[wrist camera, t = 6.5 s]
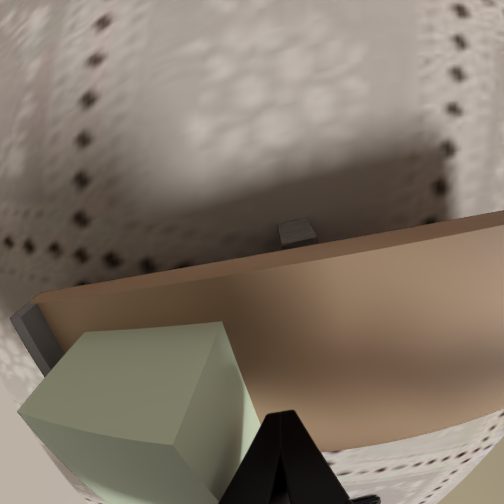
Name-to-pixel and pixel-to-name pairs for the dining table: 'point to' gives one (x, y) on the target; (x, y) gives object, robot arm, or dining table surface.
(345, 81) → the dining table surface
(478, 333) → the beam
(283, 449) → the robot arm
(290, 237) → the fulcrum
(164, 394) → the block
